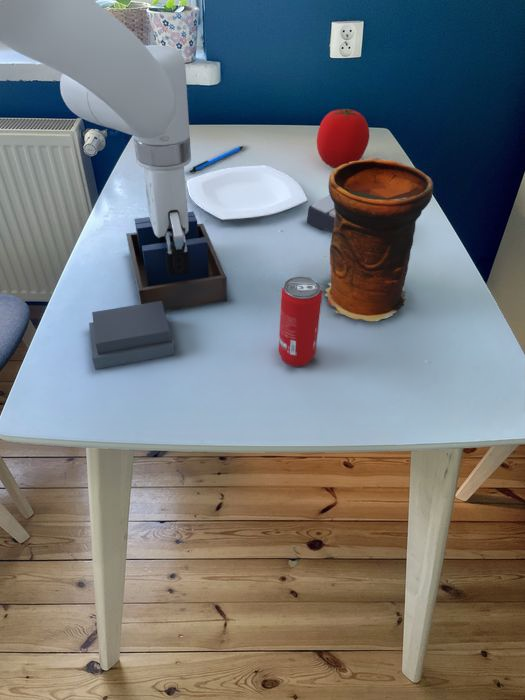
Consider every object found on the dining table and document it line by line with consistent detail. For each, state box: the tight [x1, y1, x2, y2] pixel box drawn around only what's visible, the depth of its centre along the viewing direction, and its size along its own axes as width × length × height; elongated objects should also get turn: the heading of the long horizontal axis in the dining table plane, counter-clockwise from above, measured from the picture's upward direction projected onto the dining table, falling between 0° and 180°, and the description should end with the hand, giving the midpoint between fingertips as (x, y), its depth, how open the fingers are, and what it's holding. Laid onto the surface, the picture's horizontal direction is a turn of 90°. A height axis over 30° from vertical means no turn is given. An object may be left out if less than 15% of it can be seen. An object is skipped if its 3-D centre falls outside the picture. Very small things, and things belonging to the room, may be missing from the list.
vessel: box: [324, 157, 434, 322], centre depth 81 cm, size 14×14×20 cm
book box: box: [125, 223, 228, 312], centre depth 89 cm, size 13×17×5 cm
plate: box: [186, 164, 309, 221], centre depth 112 cm, size 23×23×2 cm
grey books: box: [88, 301, 176, 370], centre depth 77 cm, size 11×8×4 cm
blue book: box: [142, 237, 209, 287], centre depth 86 cm, size 10×2×7 cm, turn 107°
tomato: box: [316, 108, 370, 169], centre depth 122 cm, size 12×12×13 cm
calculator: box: [306, 194, 336, 233], centre depth 103 cm, size 11×4×15 cm
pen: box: [188, 145, 244, 173], centre depth 127 cm, size 1×19×1 cm, turn 143°
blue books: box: [133, 211, 199, 265], centre depth 92 cm, size 10×3×7 cm, turn 107°
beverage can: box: [278, 276, 323, 368], centre depth 72 cm, size 5×5×12 cm
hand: (173, 257), depth 85 cm, fingers open, 9 cm apart
